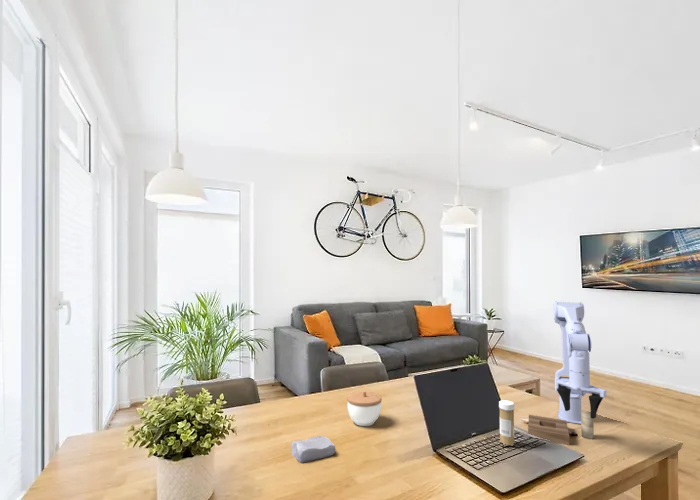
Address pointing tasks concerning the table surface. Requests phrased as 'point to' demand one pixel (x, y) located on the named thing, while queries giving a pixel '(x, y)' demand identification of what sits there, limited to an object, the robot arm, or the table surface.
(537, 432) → the socket block
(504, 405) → the sprinkles bottle
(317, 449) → the stone block
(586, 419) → the dowel
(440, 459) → the table surface
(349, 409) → the lidded bowl
